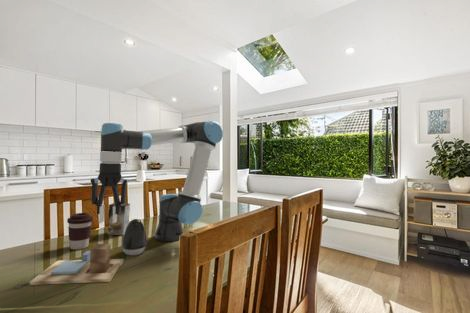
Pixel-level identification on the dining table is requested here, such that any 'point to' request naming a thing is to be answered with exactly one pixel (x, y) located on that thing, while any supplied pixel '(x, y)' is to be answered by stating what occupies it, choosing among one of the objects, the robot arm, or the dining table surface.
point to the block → (100, 258)
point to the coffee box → (118, 220)
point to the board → (80, 277)
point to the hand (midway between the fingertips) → (107, 222)
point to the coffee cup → (79, 230)
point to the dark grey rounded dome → (134, 238)
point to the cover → (72, 265)
